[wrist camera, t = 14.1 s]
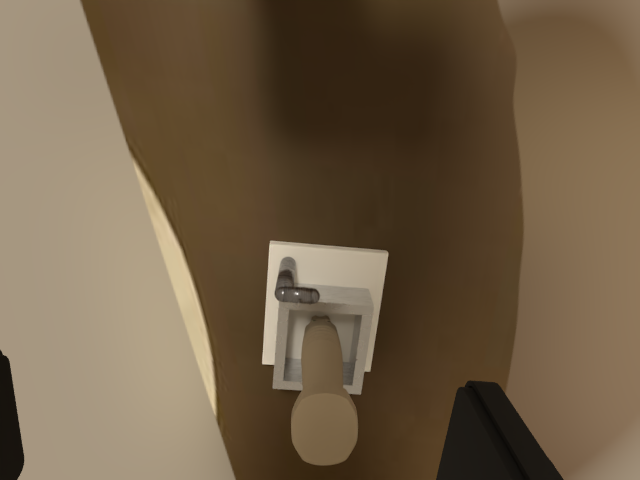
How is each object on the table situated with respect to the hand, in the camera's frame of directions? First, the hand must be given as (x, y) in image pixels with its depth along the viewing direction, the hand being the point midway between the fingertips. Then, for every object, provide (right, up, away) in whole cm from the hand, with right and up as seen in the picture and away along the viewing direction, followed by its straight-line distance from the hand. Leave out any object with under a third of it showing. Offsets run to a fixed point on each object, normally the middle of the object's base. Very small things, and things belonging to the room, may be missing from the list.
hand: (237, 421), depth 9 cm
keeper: (+2, -3, +36) cm, 36 cm away
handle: (+2, -5, +36) cm, 36 cm away
